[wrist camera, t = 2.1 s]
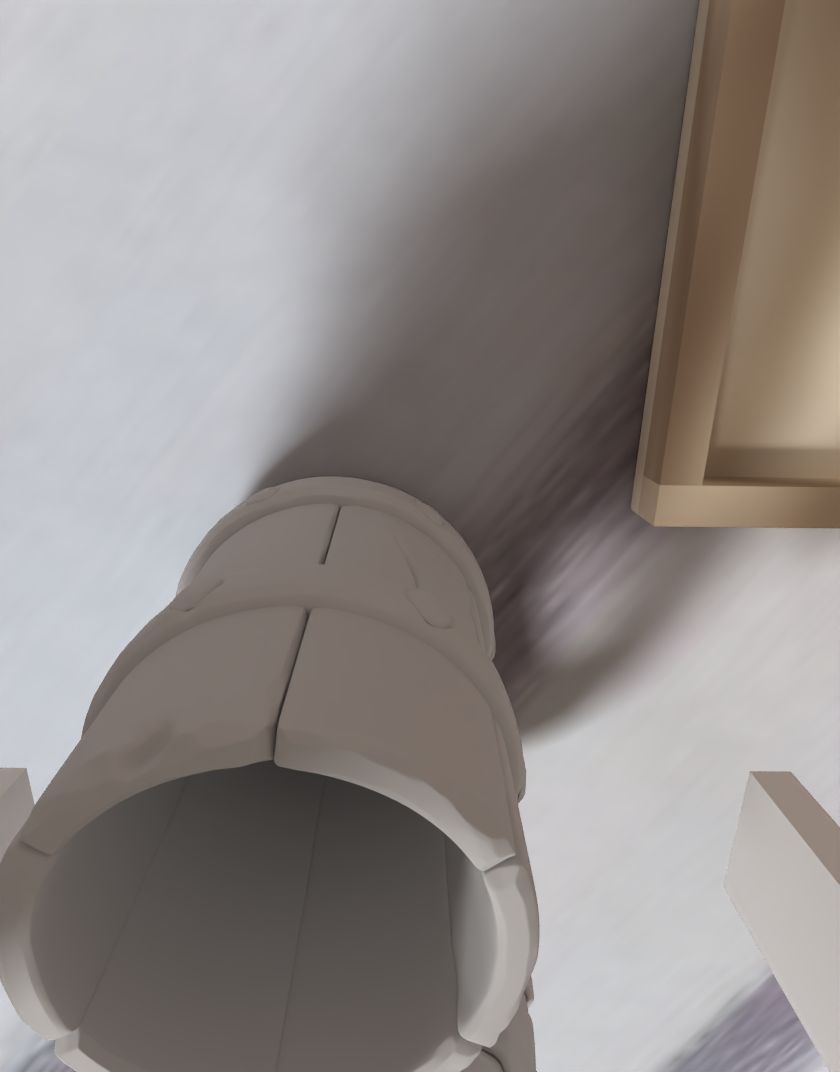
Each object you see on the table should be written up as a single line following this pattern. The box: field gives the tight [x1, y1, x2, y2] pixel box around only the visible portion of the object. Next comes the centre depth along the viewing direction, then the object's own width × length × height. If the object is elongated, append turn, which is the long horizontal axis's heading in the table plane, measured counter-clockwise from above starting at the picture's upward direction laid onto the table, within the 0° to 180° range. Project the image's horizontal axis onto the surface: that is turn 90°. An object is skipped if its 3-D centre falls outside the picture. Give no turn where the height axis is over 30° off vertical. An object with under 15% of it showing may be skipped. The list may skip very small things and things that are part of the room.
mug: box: [0, 476, 539, 1072], centre depth 11 cm, size 8×12×12 cm, turn 29°
